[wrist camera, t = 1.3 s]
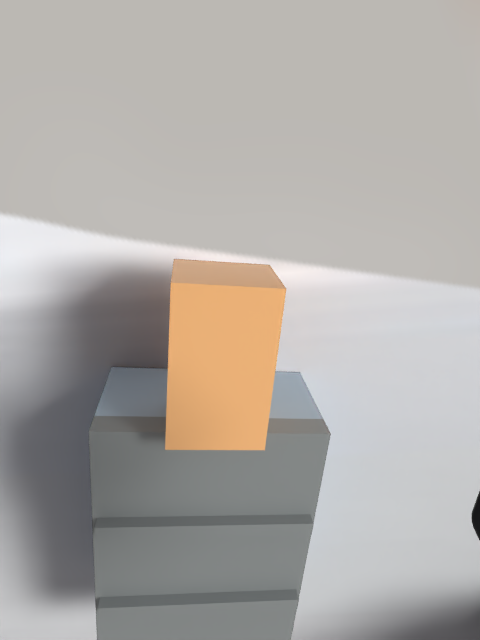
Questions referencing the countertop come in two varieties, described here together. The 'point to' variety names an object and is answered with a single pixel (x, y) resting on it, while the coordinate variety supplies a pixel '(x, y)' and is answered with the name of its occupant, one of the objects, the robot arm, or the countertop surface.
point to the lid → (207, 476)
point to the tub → (151, 394)
